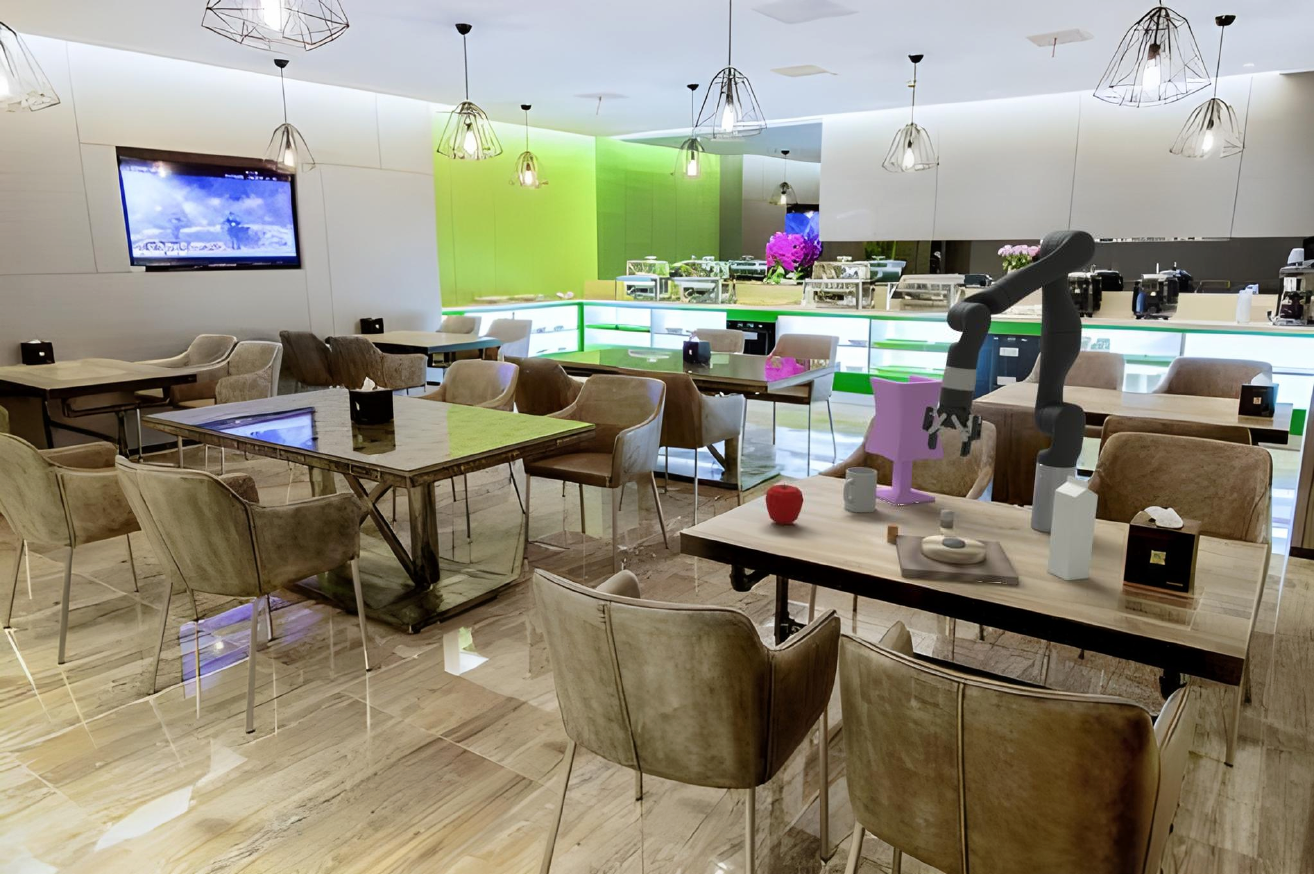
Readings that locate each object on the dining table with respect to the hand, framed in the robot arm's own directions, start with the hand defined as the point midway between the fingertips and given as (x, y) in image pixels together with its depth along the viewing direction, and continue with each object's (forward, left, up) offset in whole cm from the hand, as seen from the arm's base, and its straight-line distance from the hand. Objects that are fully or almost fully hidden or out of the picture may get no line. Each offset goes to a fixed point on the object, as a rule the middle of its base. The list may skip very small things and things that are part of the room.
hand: (947, 452), depth 205 cm
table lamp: (+7, -39, -23) cm, 45 cm away
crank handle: (-1, +11, -20) cm, 23 cm away
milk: (-25, +18, -23) cm, 38 cm away
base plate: (0, +14, -22) cm, 26 cm away
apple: (+39, -6, -23) cm, 46 cm away
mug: (+20, -23, -23) cm, 38 cm away
